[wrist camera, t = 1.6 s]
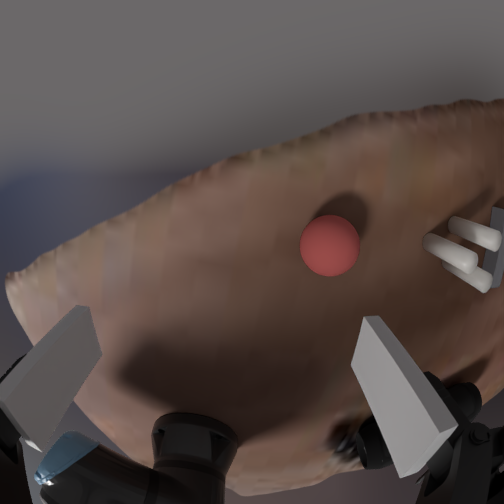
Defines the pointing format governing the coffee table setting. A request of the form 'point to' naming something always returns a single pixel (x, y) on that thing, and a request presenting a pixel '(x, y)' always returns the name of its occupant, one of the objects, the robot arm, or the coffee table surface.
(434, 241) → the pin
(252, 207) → the coffee table surface
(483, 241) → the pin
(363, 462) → the portable speaker
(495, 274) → the back wall
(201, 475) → the robot arm
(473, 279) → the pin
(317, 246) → the ball
